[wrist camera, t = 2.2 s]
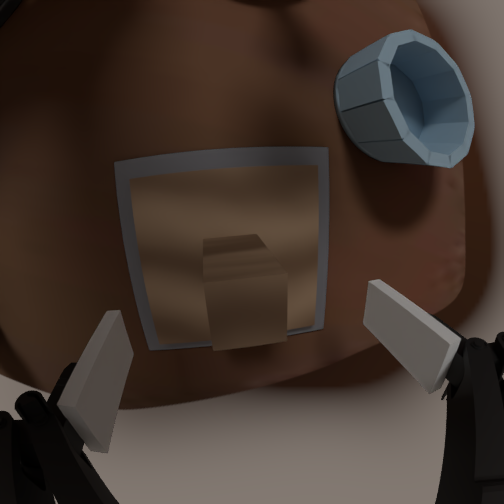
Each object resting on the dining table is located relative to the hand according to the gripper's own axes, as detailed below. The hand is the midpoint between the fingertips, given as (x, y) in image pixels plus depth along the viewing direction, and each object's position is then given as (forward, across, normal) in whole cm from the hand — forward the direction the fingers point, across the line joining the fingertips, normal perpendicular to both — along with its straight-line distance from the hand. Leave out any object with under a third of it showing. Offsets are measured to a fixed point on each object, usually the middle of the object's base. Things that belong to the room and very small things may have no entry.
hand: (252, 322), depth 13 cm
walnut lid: (+9, 0, 0) cm, 9 cm away
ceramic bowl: (+10, +15, +14) cm, 22 cm away
